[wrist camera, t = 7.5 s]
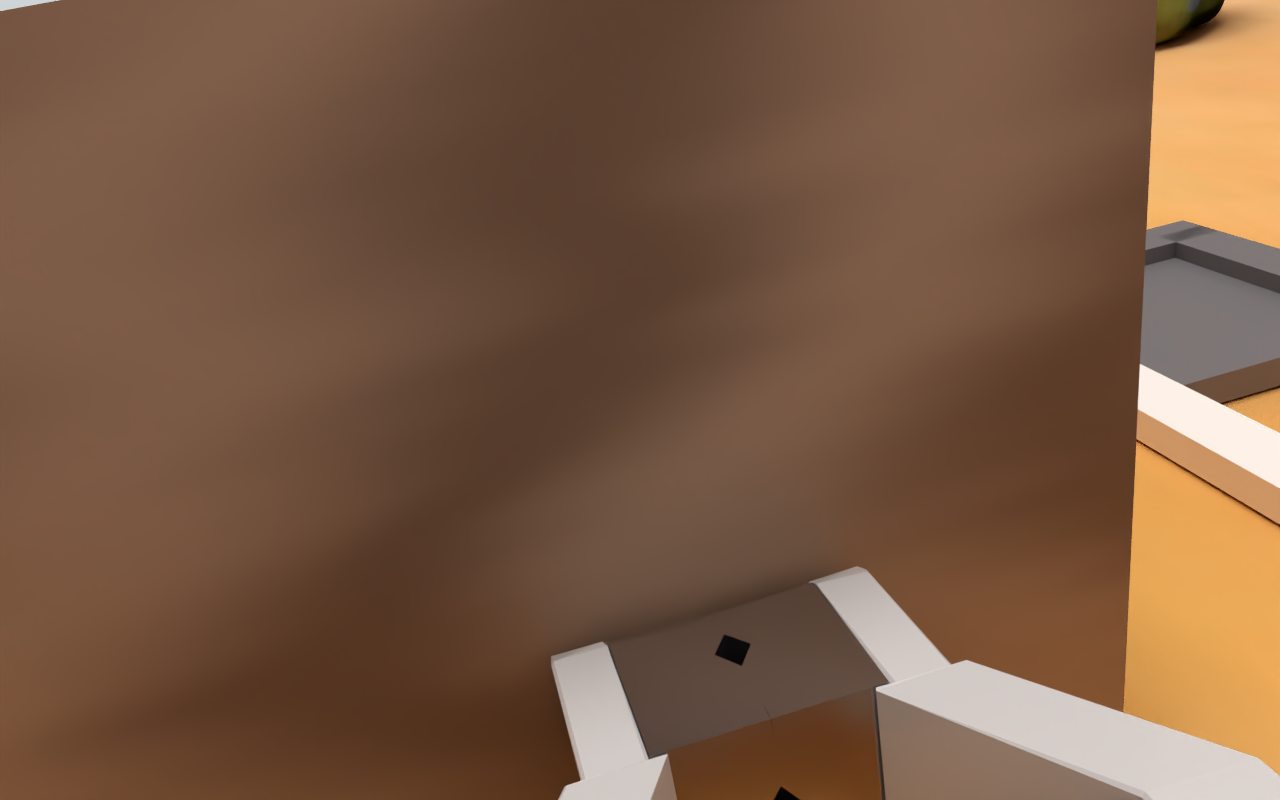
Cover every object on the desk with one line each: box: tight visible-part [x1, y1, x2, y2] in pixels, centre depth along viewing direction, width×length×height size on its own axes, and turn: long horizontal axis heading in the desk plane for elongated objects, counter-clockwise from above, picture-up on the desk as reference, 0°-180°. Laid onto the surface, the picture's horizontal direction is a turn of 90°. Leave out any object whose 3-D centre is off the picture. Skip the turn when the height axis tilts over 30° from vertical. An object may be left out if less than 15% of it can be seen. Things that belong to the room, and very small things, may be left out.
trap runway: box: [1136, 221, 1280, 524], centre depth 20 cm, size 38×32×4 cm
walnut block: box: [0, 0, 1157, 800], centre depth 14 cm, size 12×12×10 cm
